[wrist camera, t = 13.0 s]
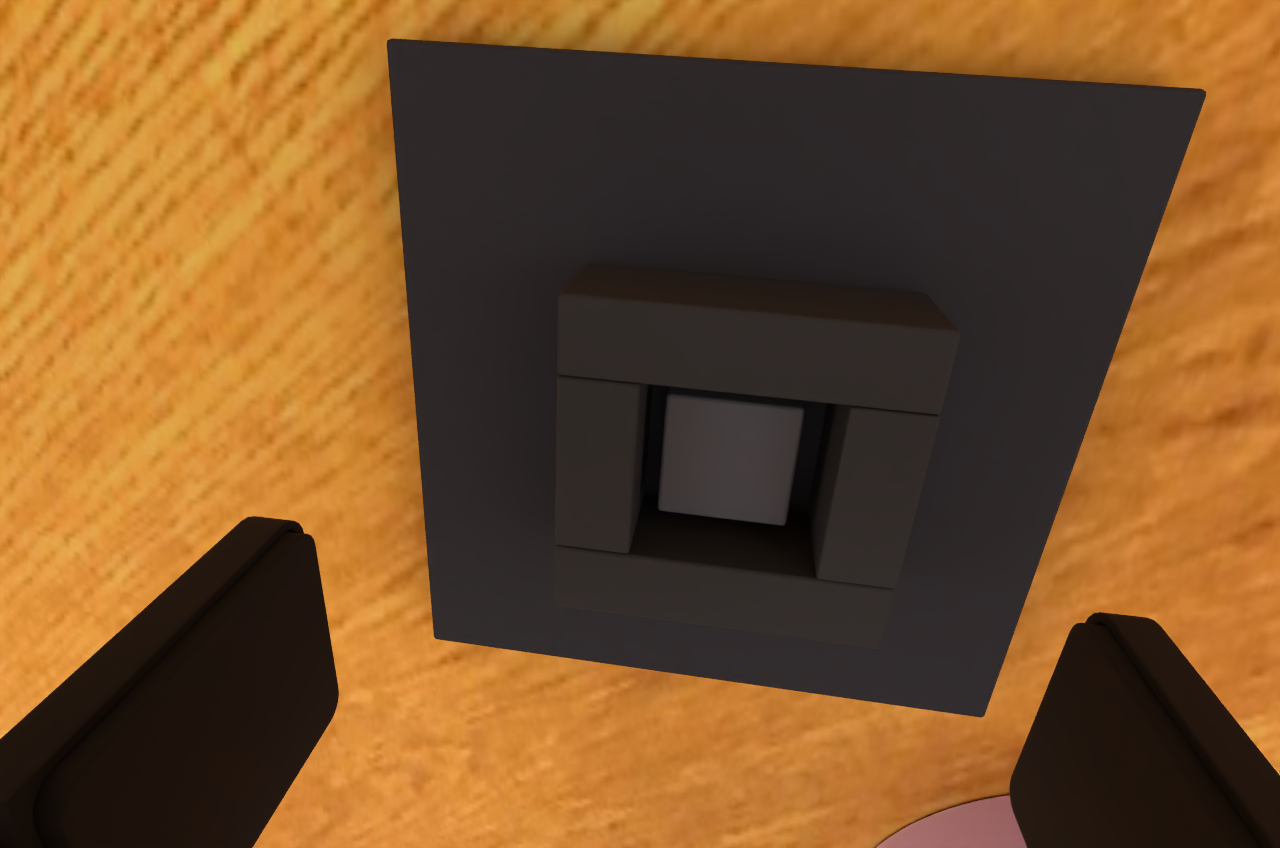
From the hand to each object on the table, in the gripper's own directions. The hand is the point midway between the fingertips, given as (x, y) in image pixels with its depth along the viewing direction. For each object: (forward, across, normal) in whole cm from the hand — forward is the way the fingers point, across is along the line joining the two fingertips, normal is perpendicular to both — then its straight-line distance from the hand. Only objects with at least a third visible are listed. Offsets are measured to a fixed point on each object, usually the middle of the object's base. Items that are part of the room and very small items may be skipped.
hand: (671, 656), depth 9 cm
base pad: (+8, -1, 0) cm, 8 cm away
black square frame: (+7, -1, 0) cm, 7 cm away
